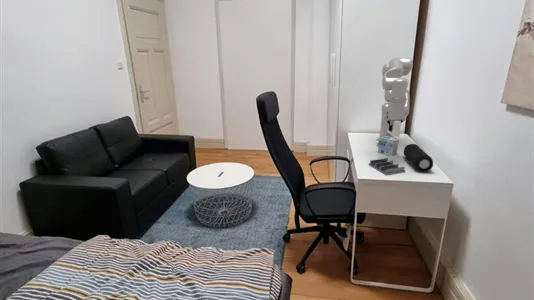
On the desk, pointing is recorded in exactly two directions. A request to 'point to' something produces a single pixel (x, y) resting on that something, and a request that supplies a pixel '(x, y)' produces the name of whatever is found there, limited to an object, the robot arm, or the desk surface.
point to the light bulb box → (388, 145)
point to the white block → (395, 128)
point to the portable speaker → (418, 157)
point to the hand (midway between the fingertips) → (393, 130)
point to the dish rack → (386, 166)
